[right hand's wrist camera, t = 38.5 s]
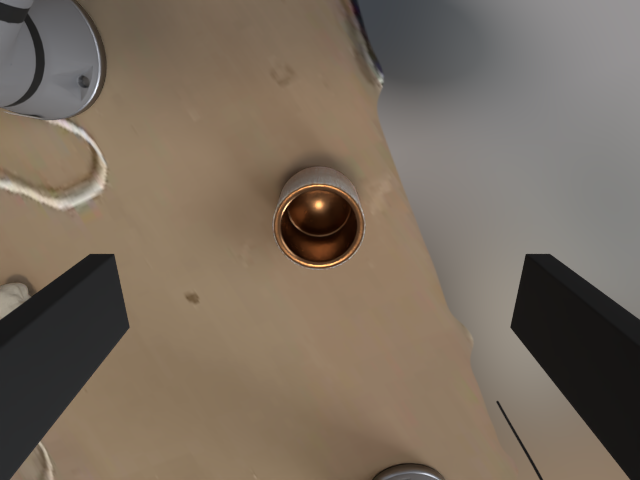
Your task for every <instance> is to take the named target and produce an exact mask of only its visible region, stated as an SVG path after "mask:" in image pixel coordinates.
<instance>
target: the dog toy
mask: <svg viewBox="0 0 640 480" xmlns="http://www.w3.org/2000/svg"><path fill="white" fill-rule="evenodd" d="M29 298H31V296H30V295H29V293H28V288H27V286H26V285H24V284H22V283H8V284H5V285H2V286H0V320H1V319H2V318H3V317H5V316H6V315H8V314H9V313H10V312H12V311H13V310H14V309H16V308H17V307H18V306H20V305H21V304H23V303H24V302H25V301H27V300H28V299H29Z"/></svg>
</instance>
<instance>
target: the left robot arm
mask: <svg viewBox="0 0 640 480" xmlns="http://www.w3.org/2000/svg"><path fill="white" fill-rule="evenodd" d="M496 403H497V404H498V406H499V408H500V410H501V412H502V414H503V415H504V417H505V419H506V421H507V422H508V424H509V426H510V428H511V429H512V431H513V433H514V435H515V436H516V438H517V440H518V442H519V443H520V445H521V447H522V449H523V450H524V452H525V454H526V456H527V457H528V459H529V461H530V463H531V465H532V466H533V468H534V470H535V472H536V474H537V476H538V477H539V479H540V480H543V478H542V477H541V475H540V473H539V471H538V469H537V467H536V466H535V464H534V462H533V460H532V459H531V457H530V455H529V453H528V452H527V450H526V448H525V446H524V445H523V443H522V441H521V440H520V438H519V436H518V435H517V433H516V431H515V429H514V428H513V426H512V424H511V422H510V421H509V419H508V417H507V415H506V414H505V412H504V410H503V408H502V407H501V405H500V403H499V401H496ZM373 480H445V479H444V478H443V477H442V476H441V475H440V474H439V473H438V472H437V471H435V470H433V469H431V468H429V467H426V466H422V465H416V464H405V465H399V466H395V467H391V468H389V469H387V470H385V471H383V472H381V473H380V474H378V475H377V476H376V477H375V478H374V479H373Z"/></svg>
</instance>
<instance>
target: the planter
mask: <svg viewBox="0 0 640 480" xmlns="http://www.w3.org/2000/svg"><path fill="white" fill-rule="evenodd" d="M364 234H365V218H364V214H363V210H362V207H361V204H360V200H359V197H358V193H357V191H356V189H355V187H354V185H353V184H352V182H351V181H350V180H349V179H348V178H347V177H346V176H345V175H344V174H342V173H341V172H339V171H337V170H335V169H332V168H329V167H323V166H315V167H309V168H306V169H303V170H301V171H299V172H298V173H296V174H295V175H293V176H292V177H291V178H290V179H289V180H288V181H287V182H286V184H285V185H284V187H283V189H282V191H281V194H280V197H279V201H278V204H277V207H276V210H275V213H274V217H273V235H274V238H275V241H276V244H277V246H278V247H279V249H280V250H281V252H282V253H283V254H284V255H285V256H286V257H287V258H288V259H289V260H291V261H292V262H294V263H295V264H297V265H299V266H302V267H305V268H308V269H315V270H323V269H330V268H333V267H336V266H339V265H341V264H343V263H344V262H346V261H347V260H349V259H350V258H351V257H352V256H353V255H354V254H355V253H356V252H357V250H358V249H359V247H360V245H361V243H362V241H363V238H364Z"/></svg>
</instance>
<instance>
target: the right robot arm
mask: <svg viewBox="0 0 640 480" xmlns="http://www.w3.org/2000/svg"><path fill="white" fill-rule="evenodd" d="M105 76H106V57H105V51H104V46H103V43H102V40H101V37H100V35H99V32H98V30H97V28H96V26H95V24H94V23H93V21H92V19H91V18H90V16H89V15H88V14H87V12H86V11H85V10H84V9H83V7H82V6H81V5H80V4H79V3H78V2H77V1H76V0H0V108H4V109H7V110H9V111H12V112H15V113H10V112H6V113H9V114H13V115H19V116H25V117H31V118H35V119H40V120H57V119H65V118H70V117H73V116H76V115H78V114H80V113H82V112H84V111H85V110H87V109H88V108H89V107H90V106H91V105H92V104H93V103H94V102H95V101H96V99H97V98H98V96H99V94H100V92H101V90H102V88H103V85H104V81H105ZM3 112H4V111H3ZM16 113H18V114H16ZM128 329H129V322H128V318H127V313H126V308H125V303H124V299H123V294H122V289H121V284H120V280H119V275H118V270H117V265H116V261H115V256H114V254H89V255H88V256H87V257H85V258H84V259H83V260H81V261H80V262H79V263H77V264H76V265H74V266H73V267H72V268H70V269H69V270H68V271H66V272H65V273H64V274H62V275H61V276H59V277H58V278H57V279H55V280H54V281H53V282H51V283H50V284H48V285H47V286H46V287H44V288H43V289H42V290H40V291H39V292H38V293H36V294H35V295H33V296H32V297H31V298H29V299H28V300H27V301H25V302H24V303H23V304H21V305H20V306H18V307H17V308H16V309H14V310H13V311H12V312H10V313H9V314H8V315H6V316H5V317H3V318H2V319H1V320H0V480H10V479H11V477H12V476H13V475H14V473H15V472H16V471H17V470H18V468H19V467H20V466H21V465H22V463H23V462H24V461H25V460H26V458H27V457H28V456H29V454H30V453H31V452H32V451H33V449H34V448H35V447H36V446H37V444H38V443H39V442H40V440H41V439H42V438H43V437H44V435H45V434H46V433H47V432H48V430H49V429H50V428H51V427H52V425H53V424H54V423H55V421H56V420H57V419H58V418H59V416H60V415H61V414H62V413H63V411H64V410H65V409H66V407H67V406H68V405H69V404H70V402H71V401H72V400H73V399H74V397H75V396H76V395H77V394H78V392H79V391H80V390H81V388H82V387H83V386H84V385H85V383H86V382H87V381H88V380H89V378H90V377H91V376H92V374H93V373H94V372H95V371H96V369H97V368H98V367H99V366H100V364H101V363H102V362H103V360H104V359H105V358H106V357H107V355H108V354H109V353H110V352H111V350H112V349H113V348H114V347H115V345H116V344H117V343H118V341H119V340H120V339H121V338H122V336H123V335H124V334H125V333H126V331H127V330H128ZM511 329H512V330H513V331H514V333H515V334H516V335H517V336H518V338H519V339H520V340H521V341H522V343H523V344H524V345H525V347H526V348H527V349H528V350H529V352H530V353H531V354H532V355H533V357H534V358H535V359H536V360H537V362H538V363H539V364H540V366H541V367H542V368H543V369H544V371H545V372H546V373H547V374H548V376H549V377H550V378H551V379H552V381H553V382H554V383H555V385H556V386H557V387H558V388H559V390H560V391H561V392H562V394H563V395H564V396H565V397H566V399H567V400H568V401H569V402H570V404H571V405H572V406H573V407H574V409H575V410H576V411H577V413H578V414H579V415H580V416H581V418H582V419H583V420H584V421H585V423H586V424H587V425H588V427H589V428H590V429H591V430H592V432H593V433H594V434H595V435H596V437H597V438H598V439H599V440H600V442H601V443H602V444H603V446H604V447H605V448H606V449H607V451H608V452H609V453H610V454H611V456H612V457H613V458H614V460H615V461H616V462H617V463H618V465H619V466H620V467H621V468H622V470H623V471H624V472H625V473H626V475H627V476H628V477H629V479H630V480H640V320H639V319H638V318H637V317H635V316H634V315H632V314H631V313H630V312H628V311H627V310H626V309H624V308H623V307H622V306H620V305H619V304H617V303H616V302H615V301H613V300H612V299H611V298H609V297H608V296H606V295H605V294H604V293H602V292H601V291H600V290H598V289H597V288H596V287H594V286H593V285H591V284H590V283H589V282H587V281H586V280H585V279H583V278H582V277H581V276H579V275H578V274H576V273H575V272H574V271H572V270H571V269H570V268H568V267H567V266H566V265H564V264H563V263H561V262H560V261H559V260H557V259H556V258H555V257H553V256H552V255H550V254H526V256H525V261H524V265H523V270H522V275H521V280H520V284H519V289H518V294H517V299H516V303H515V308H514V313H513V318H512V322H511Z"/></svg>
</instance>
